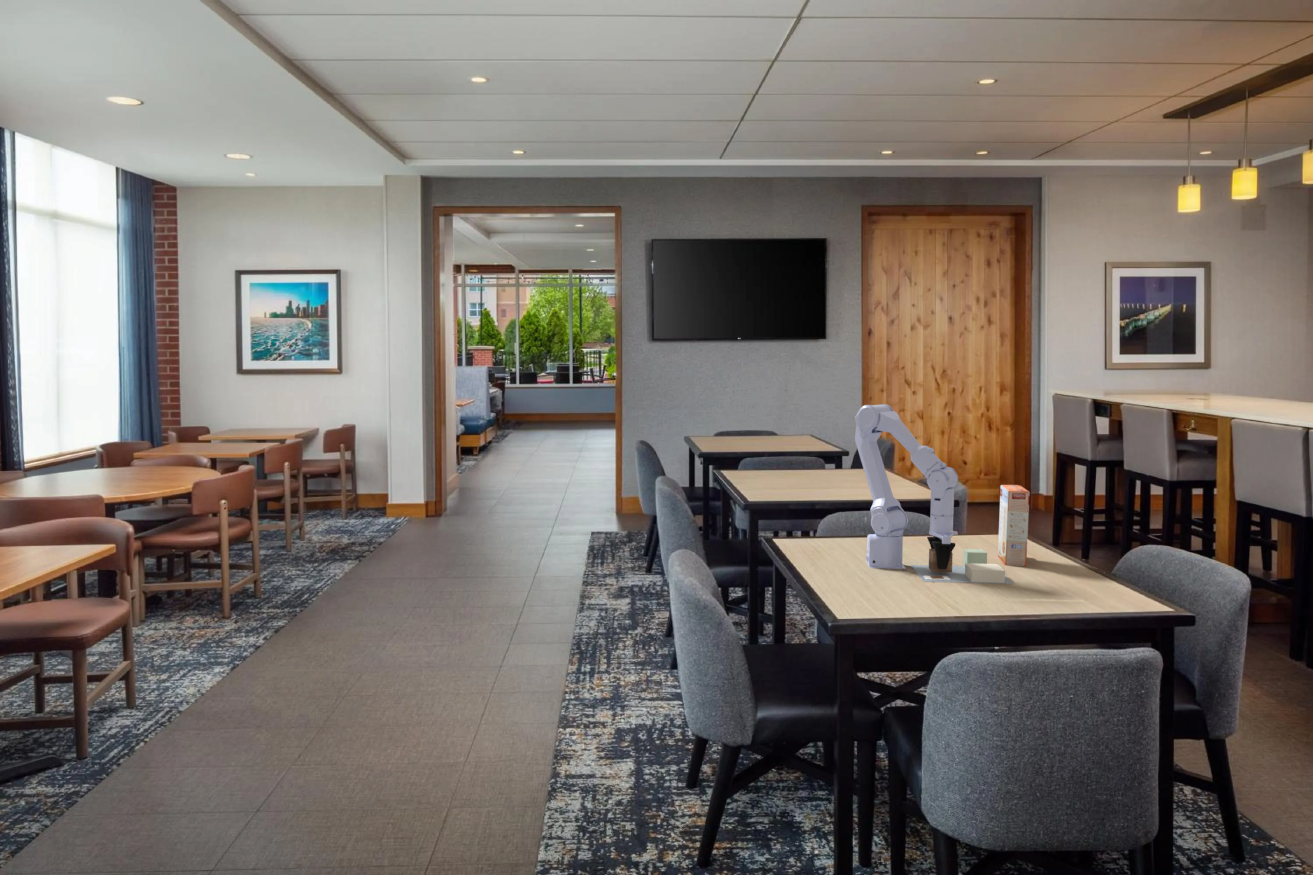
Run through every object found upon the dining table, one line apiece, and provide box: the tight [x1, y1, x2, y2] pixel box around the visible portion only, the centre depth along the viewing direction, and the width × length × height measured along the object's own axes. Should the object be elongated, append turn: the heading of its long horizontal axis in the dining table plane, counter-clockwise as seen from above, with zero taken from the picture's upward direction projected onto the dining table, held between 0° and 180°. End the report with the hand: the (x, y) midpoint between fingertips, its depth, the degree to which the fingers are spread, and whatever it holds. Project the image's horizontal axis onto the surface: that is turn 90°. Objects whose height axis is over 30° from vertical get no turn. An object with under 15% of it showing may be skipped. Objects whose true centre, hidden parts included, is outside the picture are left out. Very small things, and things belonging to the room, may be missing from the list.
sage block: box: [962, 548, 988, 569], centre depth 260 cm, size 5×5×5 cm
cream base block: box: [965, 563, 1006, 582], centre depth 249 cm, size 8×8×3 cm
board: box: [910, 564, 1014, 585], centre depth 255 cm, size 22×20×1 cm
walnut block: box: [928, 548, 953, 572], centre depth 255 cm, size 5×5×5 cm
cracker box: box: [997, 484, 1030, 567], centre depth 271 cm, size 14×6×21 cm, turn 168°
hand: (940, 566), depth 255 cm, fingers closed on walnut block, 5 cm apart
